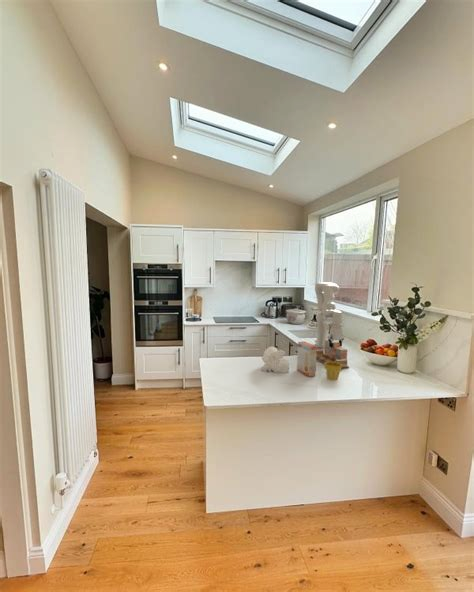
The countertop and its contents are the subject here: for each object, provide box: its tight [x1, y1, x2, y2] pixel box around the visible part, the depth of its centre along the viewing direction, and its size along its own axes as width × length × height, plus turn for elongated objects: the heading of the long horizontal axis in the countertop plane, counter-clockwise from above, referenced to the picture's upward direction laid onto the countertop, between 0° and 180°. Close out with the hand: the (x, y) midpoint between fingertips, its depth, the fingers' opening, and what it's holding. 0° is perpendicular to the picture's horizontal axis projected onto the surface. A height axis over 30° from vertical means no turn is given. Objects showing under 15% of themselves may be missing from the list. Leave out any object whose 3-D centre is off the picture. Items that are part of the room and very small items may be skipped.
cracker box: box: [296, 340, 318, 378], centre depth 202 cm, size 14×6×21 cm, turn 23°
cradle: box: [316, 349, 350, 370], centre depth 227 cm, size 30×12×6 cm, turn 23°
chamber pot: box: [285, 307, 307, 325], centre depth 390 cm, size 28×27×21 cm
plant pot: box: [324, 362, 342, 381], centre depth 194 cm, size 10×10×10 cm
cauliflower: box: [260, 346, 290, 374], centre depth 207 cm, size 19×20×20 cm
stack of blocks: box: [323, 339, 348, 361], centre depth 242 cm, size 21×6×12 cm, turn 19°
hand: (335, 346), depth 242 cm, fingers open, 9 cm apart
